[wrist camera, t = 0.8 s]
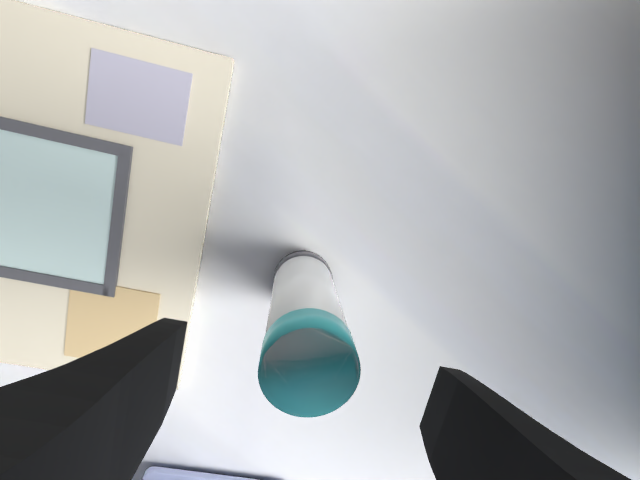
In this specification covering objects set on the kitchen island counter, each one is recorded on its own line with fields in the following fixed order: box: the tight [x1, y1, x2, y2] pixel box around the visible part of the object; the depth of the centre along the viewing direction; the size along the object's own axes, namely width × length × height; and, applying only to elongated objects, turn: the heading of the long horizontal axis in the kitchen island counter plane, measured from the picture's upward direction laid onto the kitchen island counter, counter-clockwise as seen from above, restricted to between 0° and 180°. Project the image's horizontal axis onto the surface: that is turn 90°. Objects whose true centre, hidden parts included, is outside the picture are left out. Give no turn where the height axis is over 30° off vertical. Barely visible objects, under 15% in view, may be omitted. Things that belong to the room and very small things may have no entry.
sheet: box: [0, 0, 234, 390], centre depth 16 cm, size 16×14×1 cm
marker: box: [258, 251, 361, 417], centre depth 14 cm, size 3×3×8 cm
